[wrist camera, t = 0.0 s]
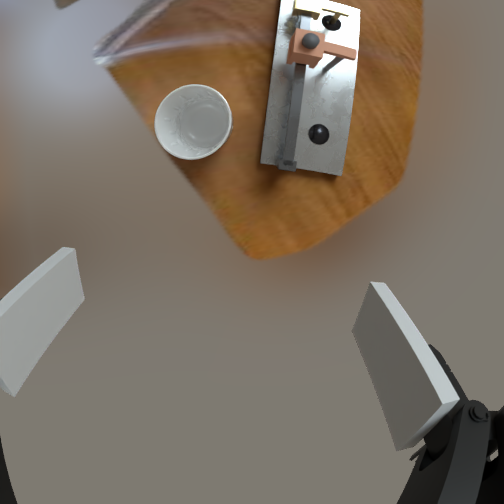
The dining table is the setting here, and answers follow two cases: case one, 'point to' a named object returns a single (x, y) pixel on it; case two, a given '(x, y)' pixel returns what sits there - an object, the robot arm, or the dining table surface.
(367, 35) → the dining table surface
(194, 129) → the white cup
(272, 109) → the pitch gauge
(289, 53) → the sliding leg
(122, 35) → the dining table surface
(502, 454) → the robot arm
